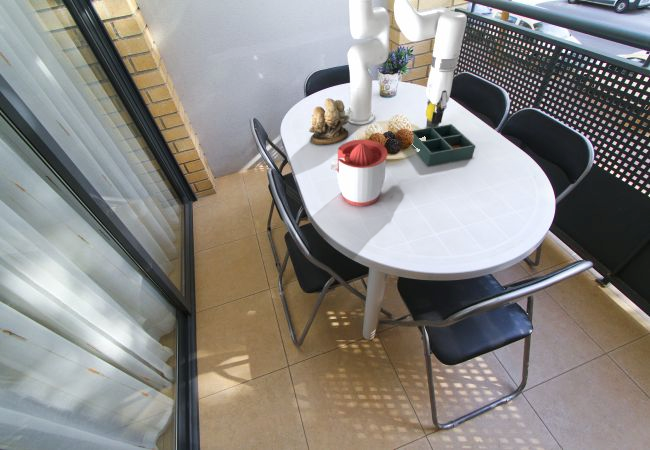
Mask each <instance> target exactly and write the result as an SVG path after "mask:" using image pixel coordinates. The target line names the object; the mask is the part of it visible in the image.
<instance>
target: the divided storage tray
mask: <svg viewBox="0 0 650 450" xmlns="http://www.w3.org/2000/svg"><path fill="white" fill-rule="evenodd" d="M411 131H412V132H413V135H414V142H413V145H414V146H415V147H416V148H418V149H420V151H419V152H416V153H417V155H418V156H419V157H420V158H421V160H422V161H423V162H424V163H425V164H426V166H427V167H432V166H437V165H438V166H439V165H442V164H448V163H454V162H459V161H464V160H469V159H472V158H473V156H474V153H475V149H476V144H475V143H473V141H471V140H470V139H469V138H468V137H467V136H465V135H464V134H463V133H462V131H460V130H459V129H458V128H457V127H456V126H454V125H453V124H452V123H450V124H449V123H448V124H443V125H439V126H438V127H432V128H427V127H426V128H421V129H414V130H411ZM424 136H425V137H426V141H421V140H420V139H419V138H422V137H424ZM413 145H410V146H411V148H412V149H413V150H414V149H416V148H415V147H414V146H413Z"/></svg>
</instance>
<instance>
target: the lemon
mask: <svg viewBox="0 0 650 450" xmlns="http://www.w3.org/2000/svg"><path fill="white" fill-rule="evenodd" d="M439 102H441V101H439ZM427 106H428V107H427ZM427 106H426V110H425V116H426V120H427V119H428V120H429V121H432V115H433V112H434V111H435V104H432V102H430V103H429V105H428V104H427ZM440 106H441V104H439V105H438V107H440Z"/></svg>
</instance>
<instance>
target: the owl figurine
mask: <svg viewBox="0 0 650 450" xmlns="http://www.w3.org/2000/svg"><path fill="white" fill-rule="evenodd" d="M324 108H325V109H324ZM324 108H323V107H322V106H316V107H315V108H313V114H312V115H311V118H310V119H311V121H310V123H311V124H310V125H311V126H310V127H309V129H308V132H309V133H313V134H312V135H311V137H310V141H311V143H312V144H313V145H316V146H329V145H333V144H337V143H340V142H343V141H344V140H346V139H347V137H348V136H349V131H348V129H347V128H345V127H344V126H345V125H347V123H348V122H349V121H348V120H349V118H348V117H349V116H348V115H345V111H346V110H345V105H344V102H343V101H342V100H341V99H336V100H334V99H332V98H326V99H325V100H324Z"/></svg>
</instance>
